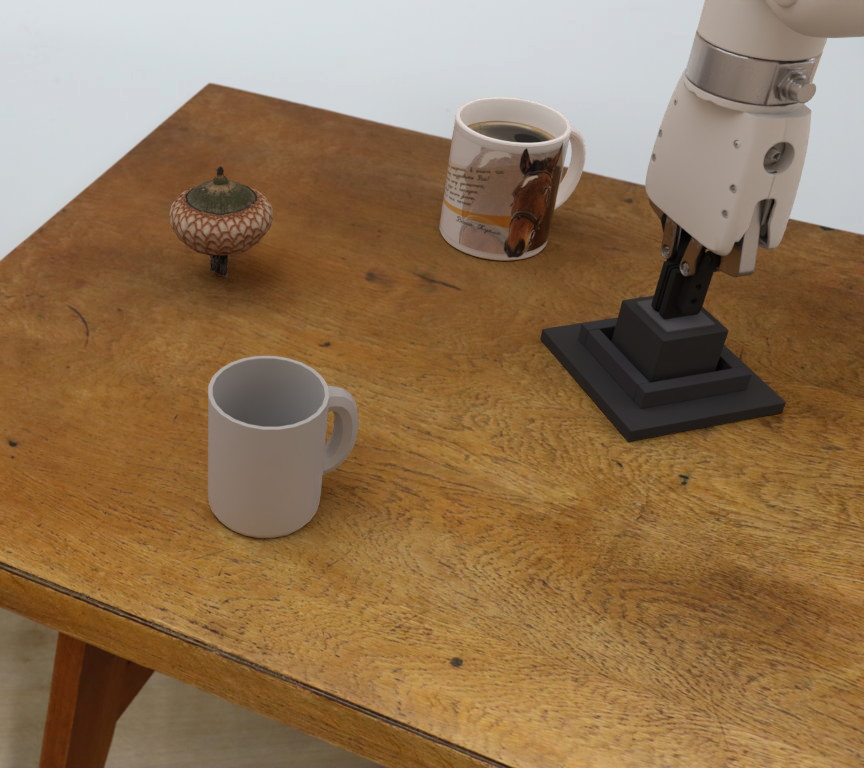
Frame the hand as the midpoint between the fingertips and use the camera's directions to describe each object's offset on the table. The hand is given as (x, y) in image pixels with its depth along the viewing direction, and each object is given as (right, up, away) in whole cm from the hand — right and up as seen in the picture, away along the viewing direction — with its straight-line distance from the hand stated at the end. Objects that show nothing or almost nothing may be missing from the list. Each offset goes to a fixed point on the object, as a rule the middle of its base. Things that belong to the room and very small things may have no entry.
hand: (675, 310), depth 81 cm
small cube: (0, -4, +3) cm, 5 cm away
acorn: (-34, +4, +12) cm, 36 cm away
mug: (-8, +8, +20) cm, 23 cm away
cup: (-29, -13, -9) cm, 33 cm away
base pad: (0, -5, +3) cm, 6 cm away
